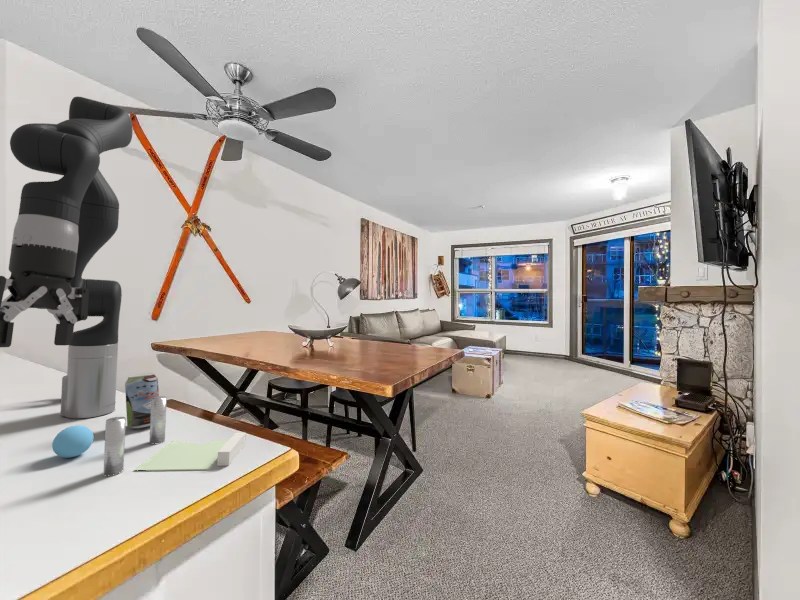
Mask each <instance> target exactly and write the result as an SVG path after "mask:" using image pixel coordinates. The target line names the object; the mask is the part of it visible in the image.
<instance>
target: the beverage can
mask: <svg viewBox="0 0 800 600" xmlns="http://www.w3.org/2000/svg"><path fill="white" fill-rule="evenodd" d="M158 378H159V377H157V376H156V374H155V373H154V372H149V373H142V374H135V375H130V376H128V377H127V379H126V381H125V383H124V388H125V389H124V391H125V407H126V409H125V410H126V426H127V427H130V428H131V429H142V428H146V427H150V418H151V399H152V398H154V397H159V396H160V393H159V392H160V391H159V379H158Z"/></svg>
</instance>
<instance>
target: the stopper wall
mask: <svg viewBox="0 0 800 600" xmlns="http://www.w3.org/2000/svg"><path fill="white" fill-rule="evenodd" d="M246 434H247V432H235V433H234V434H233V435H232V436H231V437H230V438H229V440H227V441H228V442H227V443H226V444H225V445H224V446H223V447H222V448H221V449H220V450H219V451H218V459H217V466H219V467H220V466H221V467H223V466H226V467H227V466H230V464H232V463H233V461H234V460H235V459H236V458H237V456H238V455H239V454H240V452H241V451H242V450H243V448H244V447H245V446H246V440H247V439H246V436H247V435H246Z"/></svg>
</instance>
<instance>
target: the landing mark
mask: <svg viewBox="0 0 800 600" xmlns="http://www.w3.org/2000/svg"><path fill="white" fill-rule="evenodd" d="M181 441H182V440H172V441H170V442H169V443H168V444H166V445H165V446H164V447H162V448H160V450H158V451H157V452H156V453H155V454H153V455H151V456H150V457H149V458H148V459H146V460H145V461H144V462H143V463H141V464H140V465H138V466H137V467H136V468H135V469H134V470H137V471H136V472H139V471H138V470H146V471H145V472H156V471H157V472H160V471H162V472H163V471H164V472H166V471H167V472H168V471H169V472H170V471H173V472H175V471H208V470H209V469H210V468H211V467H212V466H213V465H214V464H215V462H216V461H218V451H219V450H220V449H221V448H222V447H223V446H224V445H225V444H226V443H227V442H228V441H229V440H211V441H212V442H211V443H206V444H203V443H202V444H201V445H200V444H196V443H192V442H191V443H189V444H188V443H187V442H185V443H183V442H181ZM199 445H200V446H199ZM213 463H214V464H213ZM212 464H213V465H212Z"/></svg>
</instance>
